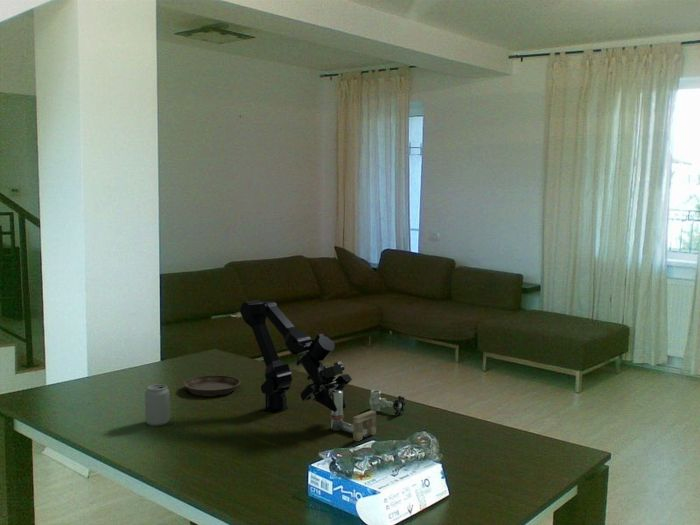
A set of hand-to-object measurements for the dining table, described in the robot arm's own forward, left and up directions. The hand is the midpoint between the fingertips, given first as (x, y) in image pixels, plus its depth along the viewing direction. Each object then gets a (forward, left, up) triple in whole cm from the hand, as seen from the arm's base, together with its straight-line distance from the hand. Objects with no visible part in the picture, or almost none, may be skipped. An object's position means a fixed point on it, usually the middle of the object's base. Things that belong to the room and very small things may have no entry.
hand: (340, 409), depth 210 cm
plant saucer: (-62, +16, -7) cm, 64 cm away
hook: (+3, -1, -6) cm, 7 cm away
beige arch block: (+10, -3, -7) cm, 12 cm away
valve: (+6, +23, -7) cm, 24 cm away
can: (-55, -21, -7) cm, 59 cm away
